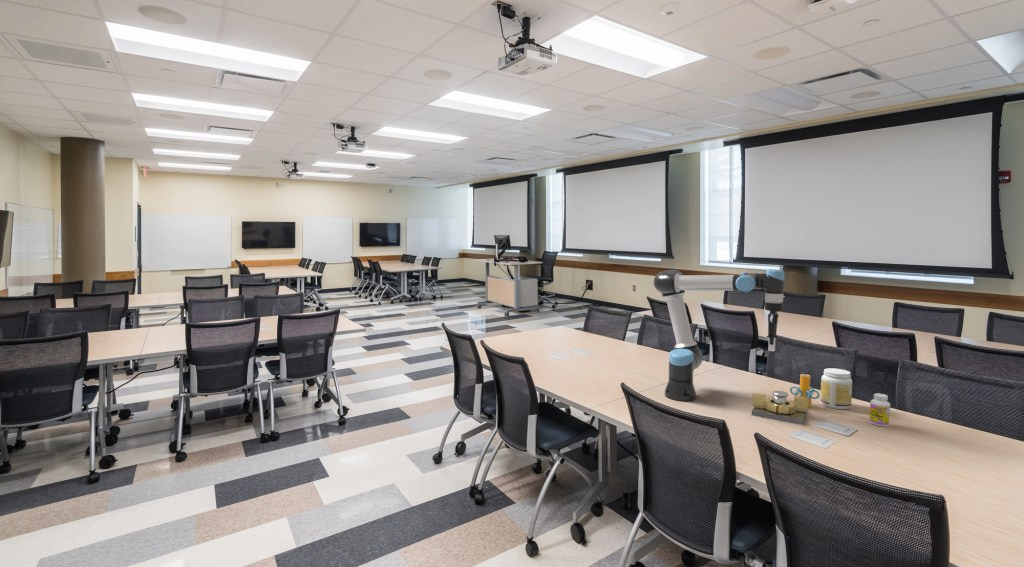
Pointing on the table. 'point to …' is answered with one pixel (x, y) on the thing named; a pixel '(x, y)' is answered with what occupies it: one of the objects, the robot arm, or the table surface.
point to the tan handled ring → (787, 408)
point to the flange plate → (791, 418)
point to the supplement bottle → (879, 410)
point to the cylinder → (805, 389)
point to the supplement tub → (836, 388)
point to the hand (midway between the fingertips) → (771, 350)
